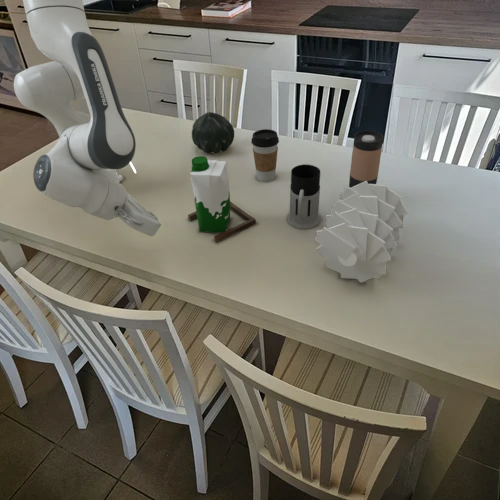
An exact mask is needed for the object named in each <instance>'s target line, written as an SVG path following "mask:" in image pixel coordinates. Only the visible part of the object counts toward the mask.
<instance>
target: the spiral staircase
mask: <svg viewBox="0 0 500 500" xmlns="http://www.w3.org/2000/svg"><path fill="white" fill-rule="evenodd" d="M402 199H403V196H402V195H400V194H398V193H396V192H395V191H394V190H391V189H390V188H387V184H378V183H376V184H368V182H367V181H365V182H363V183H360V184H358V185H356V186H353V187H352V188H350V187H349V185H347V186H346V188H344V190H343V192H339V198H338V199H337V200H336V202H335V204H334V205H332V207H331V211H330V214H326V215H325V218H326V221H325V223H324V224H325V226H327V227H325V226H323V228H322V229H321V230H320V229H319V230H316V235H317V236H316V237H315V239H314V241H315V242H316V243H318V244H319V246H318V247H316V249H315V250H316V251H317V252H318V253H319V255H320V256H321V257H322V258H323V259H324V260H325V261H326V263H325V267H326V268H329V269H330V270H333V271H335V272H337V273H339V274H340V279H357V280H358V282H359V283H360V284H362V283H364V282H366V281H368V280H370V279H372V278H374V279H376V280H380V279H381V277H382V275H384V276H386V275H387V266H388V262H390V261H392V252H393V248H397V247H398V244H397V242H396V241H400V229H403V228H404V218H405V215H408V214H409V212H408V211H407V209H406V207H405V205H404V204H403V201H402Z"/></svg>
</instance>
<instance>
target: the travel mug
mask: <svg viewBox="0 0 500 500" xmlns="http://www.w3.org/2000/svg"><path fill="white" fill-rule="evenodd" d="M383 143H384V136H383V134H381V132H378V131H375V130H361V131H358V132H356V133H354V137H353V143H352V144H353V145H352V152H351V153H352V154H351V161H350V170H349V182H348V187H350V188H352V187H353V186H356V185H358V184H360V183H363V182H365V181H367V182H368V184H378V178H379V177H378V176H379V170H380V163H381V157H382V150H383Z"/></svg>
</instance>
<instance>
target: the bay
mask: <svg viewBox="0 0 500 500" xmlns="http://www.w3.org/2000/svg"><path fill="white" fill-rule="evenodd" d="M230 206H231V212H233V213H235V214H236V215H238V216H239V217H241V218H242V220H244V221H243V222H241V223H239V224H236V225H234V226H232V227H230V228H227V229H226V231H224V232H222V233H217V234H215V235H214V236H213V240H214V242H215V243H219V242H221V241H223V240H226V239H227V238H229V237H232V236H235V235H236V234H238V233H240V232H243V231H245V230H247V229H248V228H250V227H252V226H254V225H256V224H257V219H256V218H255V217H253V216H252V215H250V214H249V213H248V212H246V211H244V210H243V209H242V208H240V207H239V206H238V205H236V204H235V203H233V202H232V201H230ZM187 218H188V219H187V220H188V221H190V222H191V221H193V220H197V213H196V211H193V212H191V213H189V214H187Z"/></svg>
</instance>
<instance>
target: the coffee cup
mask: <svg viewBox="0 0 500 500" xmlns="http://www.w3.org/2000/svg"><path fill="white" fill-rule="evenodd" d="M279 142H280V140H279V136H278V132H276V131H275V130H274V129H270V128H269V129H268V128H264V129H258V130H256V131H254V132H253V133H252V137H251V142H250V143H251V145H252V153H253V160H254V168H255V174H256V179H257V180H258V181H260V182H265V183H268V182H271V181H273V180H275V178H276V169H277V162H278V161H277V160H278V150H279V146H278V144H279Z"/></svg>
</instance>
